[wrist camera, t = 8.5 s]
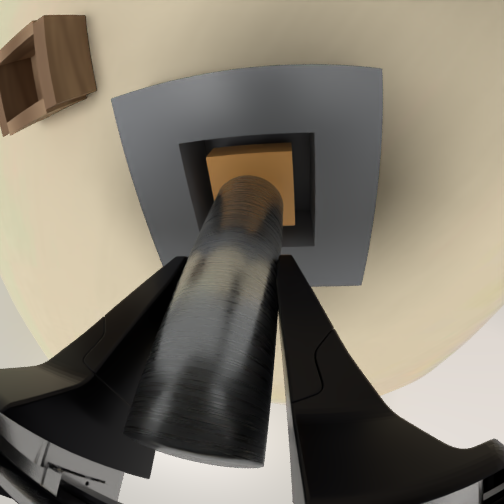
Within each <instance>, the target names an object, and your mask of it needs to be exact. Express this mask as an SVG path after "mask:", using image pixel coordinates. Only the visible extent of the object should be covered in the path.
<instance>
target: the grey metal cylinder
mask: <svg viewBox="0 0 504 504" xmlns="http://www.w3.org/2000/svg"><path fill="white" fill-rule="evenodd" d="M282 230H283V200H282V197H281V194H280V193H279V191H278V190H277V188H276V187H275V186H274V185H273V184H272V183H270V182H269V181H267V180H265V179H263V178H261V177H257V176H252V175H244V176H238V177H235V178H233V179H231V180H229V181H228V182H226V183H225V184H224V185H223V186H222V187H221V189H220V190H219V192H218V194H217V196H216V199H215V201H214V203H213V205H212V207H211V209H210V211H209V213H208V215H207V218H206V220H205V222H204V224H203V226H202V228H201V231H200V233H199V235H198V237H197V239H196V242H195V244H194V246H193V248H192V251H191V253H190V255H189V257H188V260H187V262H186V264H185V267H184V269H183V271H182V274H181V276H180V278H179V281H178V283H177V285H176V288H175V290H174V293H173V295H172V298H171V300H170V302H169V305H168V307H167V310H166V312H165V315H164V317H163V320H162V322H161V325H160V328H159V330H158V333H157V335H156V338H155V341H154V343H153V346H152V349H151V351H150V354H149V357H148V360H147V362H146V365H145V368H144V371H143V373H142V376H141V379H140V382H139V385H138V388H137V391H136V394H135V397H134V400H133V403H132V406H131V409H130V412H129V415H128V418H127V421H126V425H125V428H124V431H123V435H125V436H126V437H128V438H129V439H131V440H133V441H135V442H137V443H139V444H141V445H144V446H146V447H149V448H151V449H154V450H156V451H159V452H163V453H165V454H169V455H172V456H175V457H179V458H182V459H187V460H191V461H195V462H200V463H205V464H211V465H217V466H224V467H235V468H260V467H263V466H264V459H265V451H266V442H267V432H268V423H269V414H270V403H271V393H272V382H273V370H274V358H275V346H276V333H277V319H278V299H277V285H276V277H277V268H278V258H279V255H281V251H282Z"/></svg>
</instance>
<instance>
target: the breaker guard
mask: <svg viewBox="0 0 504 504" xmlns="http://www.w3.org/2000/svg"><path fill="white" fill-rule="evenodd" d="M111 102H112V106H113V110H114V115H115V119H116V123H117V127H118V131H119V135H120V138H121V142H122V146H123V149H124V153H125V157H126V160H127V163H128V167H129V170H130V174H131V177H132V180H133V183H134V186H135V190H136V193H137V196H138V199H139V202H140V205H141V208H142V211H143V214H144V216H145V219H146V222H147V225H148V228H149V230H150V233H151V236H152V239H153V241H154V244H155V247H156V249H157V252H158V254H159V257H160V260H161V262H162V265H163V266H165V265H166V264H167V263H168V262H170V261H171V260H172V259H173V258H175V257H176V256H187V257H189V255H190V253H191V251H192V248H193V246H194V244H195V242H196V239H197V237H198V235H199V233H200V231H201V228H202V226H203V224H204V222H205V220H206V218H207V215H208V213H209V211H210V209H211V207H212V205H213V203H214V197H213V192H212V187H211V182H210V177H209V172H208V167H207V161H206V157H207V155H208V154H209V153H210V152H211V150H212V149H213V148H219V147H229V146H240V145H252V144H268V143H290V142H291V145H292V161H293V181H294V205H295V225H292V226H283V230H282V251H281V255H292V256H293V257H294V259H295V261H296V263H297V264H298V266H299V268H300V269H301V271H302V273H303V274H304V276H305V278H306V280H307V281H308V283H309V285H310V287H319V286H358V285H362V280H363V275H364V271H365V266H366V261H367V255H368V250H369V244H370V238H371V232H372V226H373V219H374V212H375V205H376V197H377V189H378V179H379V169H380V156H381V141H382V116H383V80H382V69H381V68H372V67H362V66H349V65H327V64H296V65H274V66H260V67H250V68H241V69H233V70H226V71H219V72H213V73H207V74H201V75H196V76H191V77H186V78H182V79H177V80H173V81H169V82H165V83H161V84H157V85H153V86H150V87H146V88H143V89H140V90H136V91H133V92H130V93H127V94H124V95H121V96H118V97H115V98H112V99H111Z"/></svg>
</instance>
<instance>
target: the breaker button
mask: <svg viewBox="0 0 504 504" xmlns="http://www.w3.org/2000/svg"><path fill="white" fill-rule="evenodd" d="M206 161H207V167H208V172H209V177H210V182H211V187H212V192H213V197H214V201H215V199H216V196H217V194H218V192H219V190H220V189H221V187H222V186H223V185H224V184H225V183H226V182H228V181H229V180H231V179H233V178H235V177H238V176H244V175H252V176H257V177H261V178H263V179H265V180H267V181H269V182H270V183H272V184H273V185H274V186H275V187H276V188H277V190H278V191H279V193H280V194H281V197H282V200H283V226H292V225H295V205H294V181H293V161H292V145H291V142H290V143H268V144H252V145H240V146H229V147H219V148H213V149H212V150H211V152H210V153H209V154H208V155H207V157H206Z"/></svg>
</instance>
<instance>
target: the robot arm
mask: <svg viewBox="0 0 504 504" xmlns="http://www.w3.org/2000/svg"><path fill="white" fill-rule="evenodd" d="M187 260H188V257H187V256H176V257H175V258H173V259H172V260H171V261H170V262H168V263H167V264H166V265H165V266H163V267H162V268H161V269H160V270H158V271H157V272H156V273H155V274H153V275H152V276H151V277H150V278H149V279H147V280H146V281H145V282H144V283H143V284H141V285H140V286H139V287H138V288H137V289H135V290H134V291H133V292H132V293H131V294H129V295H128V296H127V297H126V298H125V299H123V300H122V301H121V302H120V303H119V304H118V305H116V306H115V307H114V308H113V309H112V310H111V311H109V312H108V313H107V314H106V315H105V317H102V318H101V319H100V320H99V321H98V322H97V323H96V324H94V325H93V326H92V327H91V328H90V329H88V330H87V331H86V332H85V333H84V334H82V335H81V336H80V337H79V338H77V339H76V340H75V341H73V342H72V343H71V344H69V345H68V346H67V347H66V348H64V349H63V350H62V351H60V352H59V353H58V354H57V355H55V356H54V357H53V358H51V359H50V360H49V361H47V362H45V363H43V364H40V365H37V366H30V367H20V368H7V369H0V495H3V496H6V497H9V498H12V499H14V500H15V501H16V502H17V503H18V504H122V503H120V502H117V500H118V496H119V492H120V488H121V484H122V480H123V476H124V472H125V473H128V474H132V475H135V476H139V477H143V478H147V479H149V478H150V475H151V470H152V464H153V459H154V455H155V450H154V449H151V448H149V447H146V446H144V445H141V444H139V443H137V442H135V441H133V440H131V439H129V438H128V437H126V436H125V435H123V431H124V428H125V425H126V421H127V418H128V415H129V412H130V409H131V406H132V403H133V400H134V397H135V394H136V391H137V388H138V385H139V382H140V379H141V376H142V373H143V371H144V368H145V365H146V362H147V360H148V357H149V354H150V351H151V349H152V346H153V343H154V341H155V338H156V335H157V333H158V330H159V328H160V325H161V322H162V320H163V317H164V315H165V312H166V310H167V307H168V305H169V302H170V300H171V298H172V295H173V293H174V290H175V288H176V285H177V283H178V281H179V278H180V276H181V274H182V271H183V269H184V267H185V264H186V262H187ZM276 285H277V299H278V314H279V329H280V339H281V350H282V361H283V372H284V384H285V396H286V406H287V420H288V434H289V447H290V462H291V477H292V494H293V503H294V504H504V445H503V444H502V443H500V442H499V441H498V440H496V439H492V440H489V441H487V442H485V443H483V444H480V445H477V446H475V447H472V448H468V449H459V448H455V447H452V446H449V445H447V444H445V443H443V442H442V441H440V440H438V439H436V438H435V437H433V436H431V435H429V434H428V433H426V432H424V431H423V430H421V429H419V428H418V427H416V426H414V425H413V424H411V423H409V422H407V421H406V420H404V419H403V418H401V417H399V416H398V415H397V414H396V413H394V412H393V411H392V410H391V409H390V408H389V407H388V406H387V405H386V404H385V403H384V401H383V400H382V398H381V397H380V396H379V394H378V393H377V392H376V390H375V389H374V387H373V386H372V385H371V383H370V382H369V381H368V379H367V378H366V377H365V375H364V374H363V373H362V371H361V370H360V369H359V367H358V366H357V364H356V363H355V361H354V360H353V359H352V357H351V356H350V354H349V353H348V351H347V349H346V348H345V346H344V344H343V343H342V341H341V339H340V338H339V336H338V334H337V332H336V330H335V329H334V327H333V325H332V324H331V322H330V320H329V318H328V316H327V315H326V313H325V311H324V309H323V308H322V306H321V304H320V302H319V300H318V299H317V297H316V295H315V293H314V292H313V290H312V288H311V287H310V285H309V283H308V281H307V280H306V278H305V276H304V274H303V273H302V271H301V269H300V268H299V266H298V264H297V263H296V261H295V259H294V257H293V256H292V255H279V258H278V268H277V277H276Z"/></svg>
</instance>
